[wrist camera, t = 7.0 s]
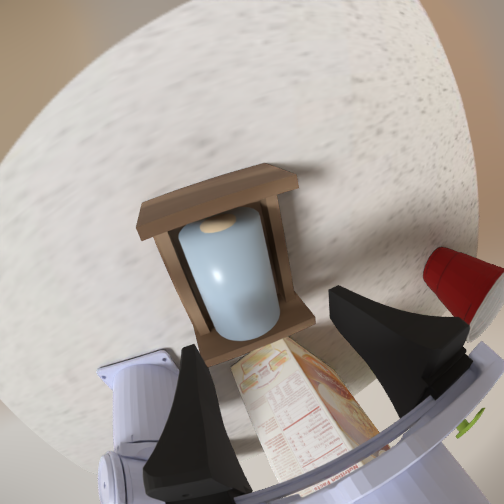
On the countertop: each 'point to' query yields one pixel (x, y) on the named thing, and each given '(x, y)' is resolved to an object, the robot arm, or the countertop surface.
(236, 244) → the roll
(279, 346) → the coffeecake box
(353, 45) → the countertop surface
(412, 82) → the countertop surface
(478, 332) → the plastic cup
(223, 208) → the holder
